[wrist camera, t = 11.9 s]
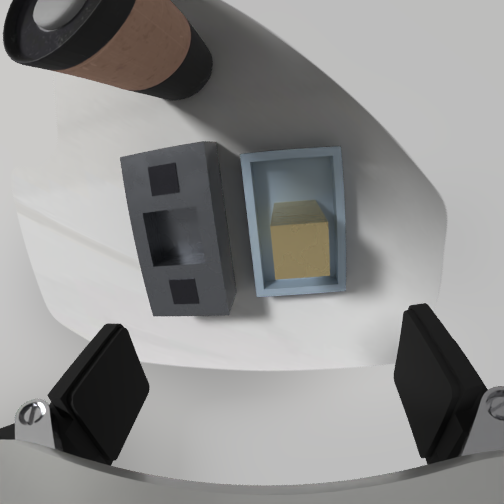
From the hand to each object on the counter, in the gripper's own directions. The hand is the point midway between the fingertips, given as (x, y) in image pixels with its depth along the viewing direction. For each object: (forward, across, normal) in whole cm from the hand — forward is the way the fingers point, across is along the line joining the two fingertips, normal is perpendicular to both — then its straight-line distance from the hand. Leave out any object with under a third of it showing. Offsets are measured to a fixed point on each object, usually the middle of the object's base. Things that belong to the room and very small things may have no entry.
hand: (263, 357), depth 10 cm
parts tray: (+22, -2, +1) cm, 22 cm away
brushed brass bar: (+22, -2, +1) cm, 22 cm away
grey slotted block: (+22, +9, +1) cm, 24 cm away
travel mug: (+23, +8, -16) cm, 29 cm away
